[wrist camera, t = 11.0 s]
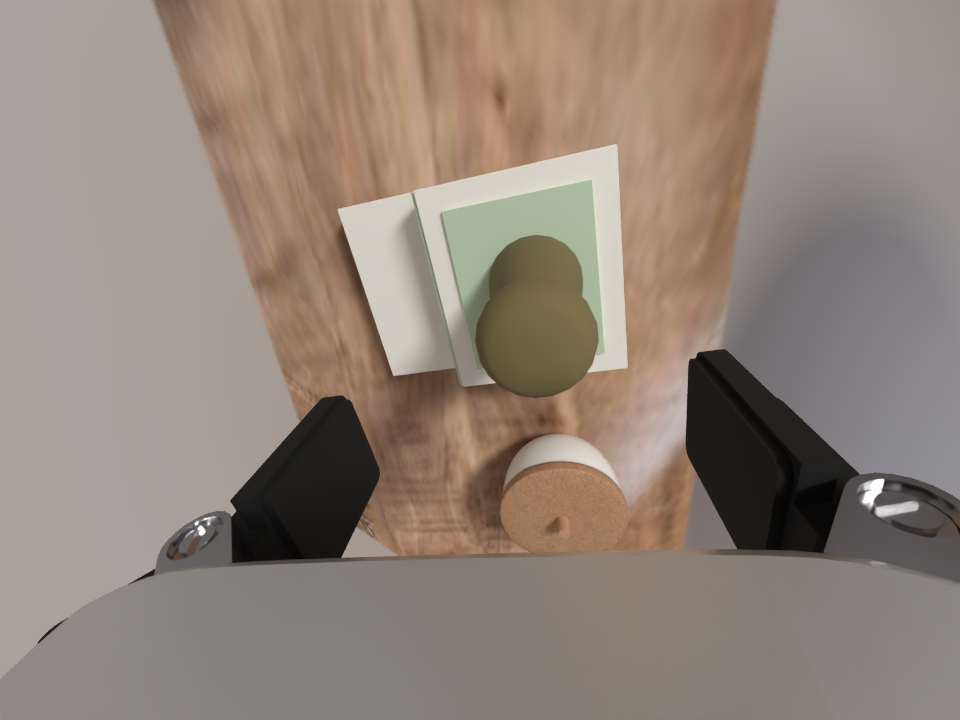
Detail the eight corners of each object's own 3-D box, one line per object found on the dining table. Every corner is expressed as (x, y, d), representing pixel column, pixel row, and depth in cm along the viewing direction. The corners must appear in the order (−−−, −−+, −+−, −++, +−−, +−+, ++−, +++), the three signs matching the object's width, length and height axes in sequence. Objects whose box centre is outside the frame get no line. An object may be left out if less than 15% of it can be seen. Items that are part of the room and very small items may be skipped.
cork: (524, 343, 27) (518, 442, 17) (470, 274, 25) (428, 339, 15) (601, 292, 24) (646, 373, 15) (547, 213, 23) (557, 244, 13)
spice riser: (354, 206, 31) (310, 214, 25) (599, 150, 27) (618, 143, 21) (403, 361, 36) (377, 398, 30) (611, 333, 33) (628, 369, 26)
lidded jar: (535, 508, 43) (536, 590, 34) (486, 438, 39) (473, 510, 31) (629, 477, 39) (655, 559, 31) (583, 397, 36) (598, 465, 27)
